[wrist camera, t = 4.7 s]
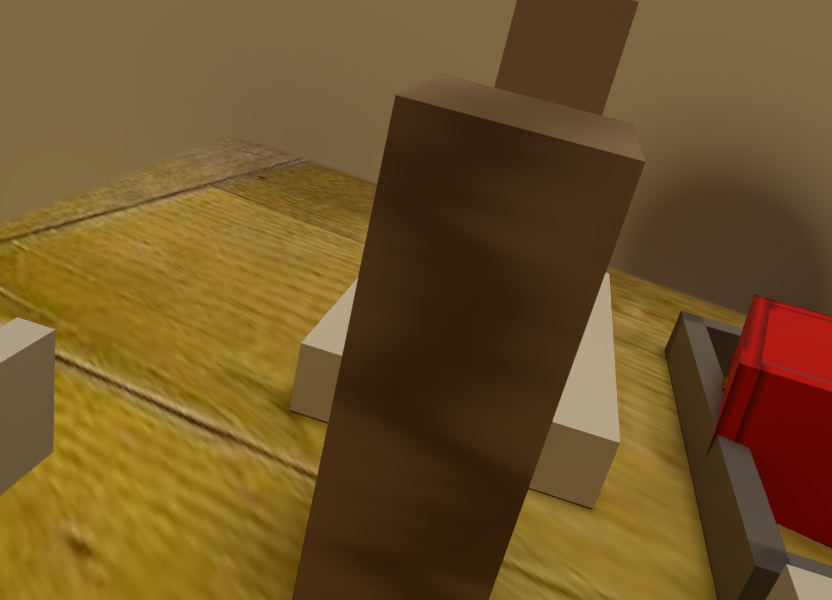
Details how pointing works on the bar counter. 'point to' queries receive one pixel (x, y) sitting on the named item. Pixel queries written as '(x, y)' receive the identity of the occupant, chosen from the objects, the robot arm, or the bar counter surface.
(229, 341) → the bar counter surface
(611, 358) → the base board
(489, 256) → the walnut pillar
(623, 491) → the bar counter surface
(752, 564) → the charcoal tray rim
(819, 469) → the french fries container
